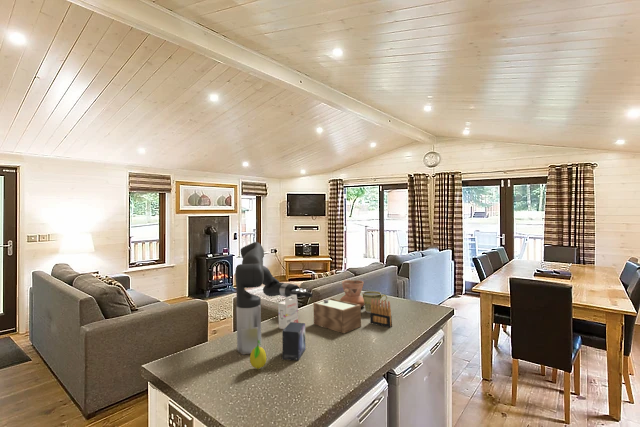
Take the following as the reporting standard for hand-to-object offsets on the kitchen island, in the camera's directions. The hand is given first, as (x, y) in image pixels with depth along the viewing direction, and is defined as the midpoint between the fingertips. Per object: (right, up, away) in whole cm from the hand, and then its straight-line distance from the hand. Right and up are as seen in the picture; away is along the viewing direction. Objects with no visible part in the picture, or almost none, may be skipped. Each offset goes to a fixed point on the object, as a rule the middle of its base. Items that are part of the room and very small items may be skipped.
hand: (311, 295), depth 169 cm
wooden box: (+12, -11, -12) cm, 20 cm away
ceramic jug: (+23, -11, +20) cm, 33 cm away
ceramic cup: (+34, -11, +8) cm, 36 cm away
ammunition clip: (+33, -11, -12) cm, 37 cm away
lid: (+12, -3, -12) cm, 17 cm away
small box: (-5, -11, -44) cm, 46 cm away
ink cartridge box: (-10, -12, -13) cm, 20 cm away
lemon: (-17, -12, -56) cm, 59 cm away
